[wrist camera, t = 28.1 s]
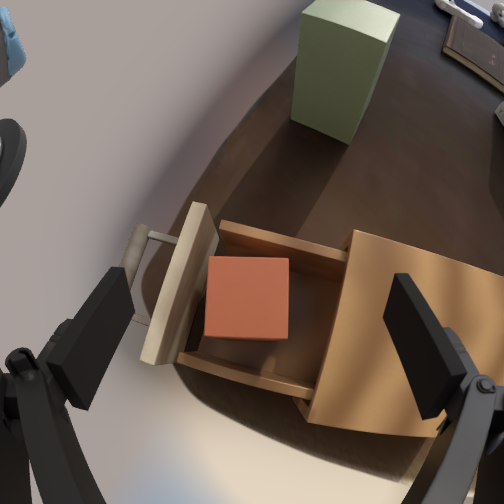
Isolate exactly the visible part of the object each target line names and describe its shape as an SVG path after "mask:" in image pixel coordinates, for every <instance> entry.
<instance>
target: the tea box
mask: <svg viewBox="0 0 504 504" xmlns="http://www.w3.org/2000/svg"><path fill="white" fill-rule="evenodd" d="M494 112H495V113H496V115H497V117H498V118H499V120H500V122H501V123H502V125H503V126H504V100H503V101H502V103H501V104H500V105H499V106H498V108H497V109H496V110H495V111H494Z"/></svg>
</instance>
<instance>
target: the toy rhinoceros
mask: <svg viewBox="0 0 504 504" xmlns="http://www.w3.org/2000/svg"><path fill="white" fill-rule="evenodd" d="M490 18H491V20H492V21H494V22H498V23H499V26H500V27H502V28H504V4H503V3H495V4H494V5H493V7H492V12H491V13H490Z"/></svg>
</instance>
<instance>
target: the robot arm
mask: <svg viewBox="0 0 504 504" xmlns="http://www.w3.org/2000/svg"><path fill="white" fill-rule="evenodd" d="M25 62H26V55H25V52H24V50H23V48H22V45H21V43H20V40H19V38H18V35H17V33H16V31H15V28H14V26H13V23H12V21H11V18H10V16H9V13H8V11H7V8H6V7H5V6H3V7H1V8H0V87H1V86H2V85H4V84H5V83H6V82H7V81H9V80H10V79H11V77H12V76H13V75H14V74H15V73H16V72H18V71H19V70H20V69H21V68H22V67H23V66H24V64H25ZM3 154H4V140H3V138H2V137H1V136H0V163H1V161H2V158H3ZM134 313H135V309H134V305H133V302H132V298H131V293H130V289H129V285H128V280H127V276H126V272H125V267H111V268H110V269H109V271H108V272H107V273H106V274H105V276H104V277H103V278H102V280H101V281H100V282H99V284H98V285H97V286H96V288H95V289H94V290H93V292H92V293H91V295H90V296H89V297H88V299H87V300H86V301H85V303H84V304H83V306H82V307H81V309H80V310H79V311H78V313H77V314H76V316H75V317H74V319H67V320H65V321H64V322H63V323H61V324H60V325H59V326H58V328H57V329H56V331H55V332H54V335H52V336H51V338H50V339H49V341H48V342H47V344H46V345H45V347H44V348H43V350H42V351H41V353H40V354H39V356H38V357H37V359H35V357H34V355H33V354H32V352H31V350H29V349H28V348H23V347H22V348H17V349H16V350H14V351H12V352H11V353H10V354H9V355H8V356H7V358H6V360H5V365H6V367H7V369H8V370H9V372H10V373H3V372H2V370H1V369H0V504H32V497H31V486H30V473H29V460H30V463H31V467H32V470H33V474H34V477H35V480H36V484H37V486H38V489H39V492H40V496H41V498H42V501H43V504H106V502H105V500H104V498H103V496H102V494H101V492H100V490H99V488H98V486H97V484H96V482H95V480H94V478H93V475H92V473H91V471H90V469H89V467H88V464H87V462H86V460H85V457H84V455H83V452H82V450H81V447H80V445H79V442H78V439H77V437H76V434H75V431H74V429H73V426H72V423H71V420H70V417H69V414H68V411H67V409H66V407H65V405H64V404H65V402H66V400H67V399H68V400H69V402H70V403H71V405H72V406H73V407H75V408H79V409H83V410H86V411H88V409H89V407H90V405H91V402H92V400H93V398H94V396H95V394H96V391H97V389H98V387H99V385H100V382H101V380H102V378H103V376H104V374H105V372H106V370H107V368H108V365H109V363H110V361H111V359H112V357H113V355H114V353H115V351H116V349H117V346H118V345H119V342H120V341H121V339H122V336H123V335H124V333H125V331H126V329H127V327H128V325H129V323H130V321H131V319H132V317H133V315H134ZM382 318H383V320H384V322H385V325H386V327H387V329H388V332H389V334H390V336H391V339H392V341H393V344H394V346H395V349H396V351H397V354H398V356H399V359H400V361H401V364H402V366H403V369H404V371H405V374H406V377H407V379H408V382H409V385H410V387H411V390H412V393H413V396H414V398H415V401H416V404H417V407H418V410H419V413H420V416H421V419H422V420H427V419H432V418H437V417H438V416H439V415H440V413H441V412H442V411H443V409H444V410H445V412H446V415H447V416H446V417H445V418H444V420H443V421H442V422H441V424H440V425H439V426H438V427H437V429H436V430H437V431H438V430H439V432H438V434H437V436H436V438H435V441H434V443H433V445H432V447H431V449H430V451H429V453H428V456H427V458H426V460H425V462H424V464H423V466H422V467H421V469H420V471H419V473H418V475H417V477H416V479H415V481H414V482H413V484H412V486H411V488H410V489H409V491H408V493H407V495H406V496H405V498H404V500H403V501H402V503H401V504H463V503H464V500H465V498H466V496H467V493H468V491H469V488H470V486H471V483H472V481H473V478H474V475H475V473H476V470H477V467H478V473H477V481H476V488H475V494H474V500H473V504H504V386H499V385H496V383H495V382H494V380H493V379H492V378H490V377H489V376H487V375H483V374H480V373H479V371H478V369H477V368H476V366H475V364H474V362H473V360H472V359H471V357H470V355H469V353H468V352H467V351H466V348H465V346H464V345H463V344H462V341H461V340H460V338H459V336H458V335H457V334H456V333H455V332H454V331H453V330H452V329H451V328H450V327H442V326H441V324H440V322H439V321H438V319H437V317H436V316H435V314H434V312H433V311H432V309H431V308H430V306H429V304H428V303H427V301H426V300H425V298H424V296H423V295H422V293H421V292H420V290H419V289H418V287H417V286H416V284H415V283H414V281H413V280H412V278H411V277H410V275H409V274H408V273H395V274H394V278H393V281H392V285H391V289H390V293H389V296H388V300H387V303H386V307H385V310H384V314H383V317H382ZM478 464H479V465H478Z"/></svg>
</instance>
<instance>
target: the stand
mask: <svg viewBox="0 0 504 504" xmlns="http://www.w3.org/2000/svg"><path fill="white" fill-rule="evenodd" d="M399 17H400V14H398V13H395V12H393V11H391V10H388V9H386V8H383V7H381V6H378V5H376V4H373V3H370V2H368V1H365V0H315V1H314V2H313V3H312V4H311V5H310V6H309V7H307V8H306V9H305V10H304V11H303V12H302V13H301V22H300V33H299V43H298V53H297V63H296V73H295V83H294V92H293V101H292V110H291V120H294V121H296V122H298V123H301V124H303V125H306V126H308V127H310V128H313V129H315V130H317V131H319V132H322V133H324V134H326V135H328V136H331V137H333V138H335V139H337V140H339V141H341V142H344V143H346V144H348V145H350V143H351V141H352V138H353V136H354V134H355V132H356V130H357V128H358V126H359V124H360V122H361V119H362V117H363V115H364V113H365V111H366V109H367V106H368V104H369V101H370V99H371V96H372V93H373V91H374V88H375V85H376V83H377V80H378V77H379V75H380V72H381V69H382V66H383V64H384V61H385V58H386V55H387V52H388V50H389V47H390V44H391V41H392V38H393V35H394V32H395V29H396V26H397V23H398V20H399Z"/></svg>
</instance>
